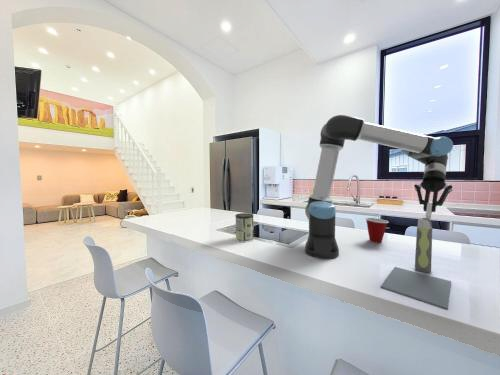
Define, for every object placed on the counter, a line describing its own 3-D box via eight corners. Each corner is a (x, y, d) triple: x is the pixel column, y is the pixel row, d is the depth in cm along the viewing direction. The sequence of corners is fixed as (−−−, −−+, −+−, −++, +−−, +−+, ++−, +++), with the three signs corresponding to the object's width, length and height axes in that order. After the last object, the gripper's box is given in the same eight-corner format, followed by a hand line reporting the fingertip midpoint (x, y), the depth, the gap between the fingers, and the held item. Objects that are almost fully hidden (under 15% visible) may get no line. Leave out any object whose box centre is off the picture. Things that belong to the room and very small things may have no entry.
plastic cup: (391, 244, 109) (392, 221, 108) (368, 243, 111) (369, 221, 110) (383, 238, 119) (383, 217, 118) (362, 237, 121) (362, 216, 121)
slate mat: (394, 267, 83) (394, 266, 83) (451, 282, 71) (451, 281, 71) (380, 287, 69) (380, 286, 69) (447, 309, 57) (447, 308, 57)
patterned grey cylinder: (414, 266, 84) (416, 216, 83) (430, 269, 81) (433, 217, 80) (414, 270, 80) (416, 218, 79) (431, 274, 77) (433, 220, 76)
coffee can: (242, 235, 128) (242, 212, 127) (257, 238, 123) (256, 214, 122) (232, 240, 120) (231, 215, 119) (247, 243, 114) (247, 217, 113)
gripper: (454, 181, 94) (450, 225, 83) (416, 180, 103) (409, 220, 92) (454, 169, 89) (450, 213, 79) (415, 169, 99) (407, 209, 88)
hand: (428, 217), depth 86 cm, fingers closed
